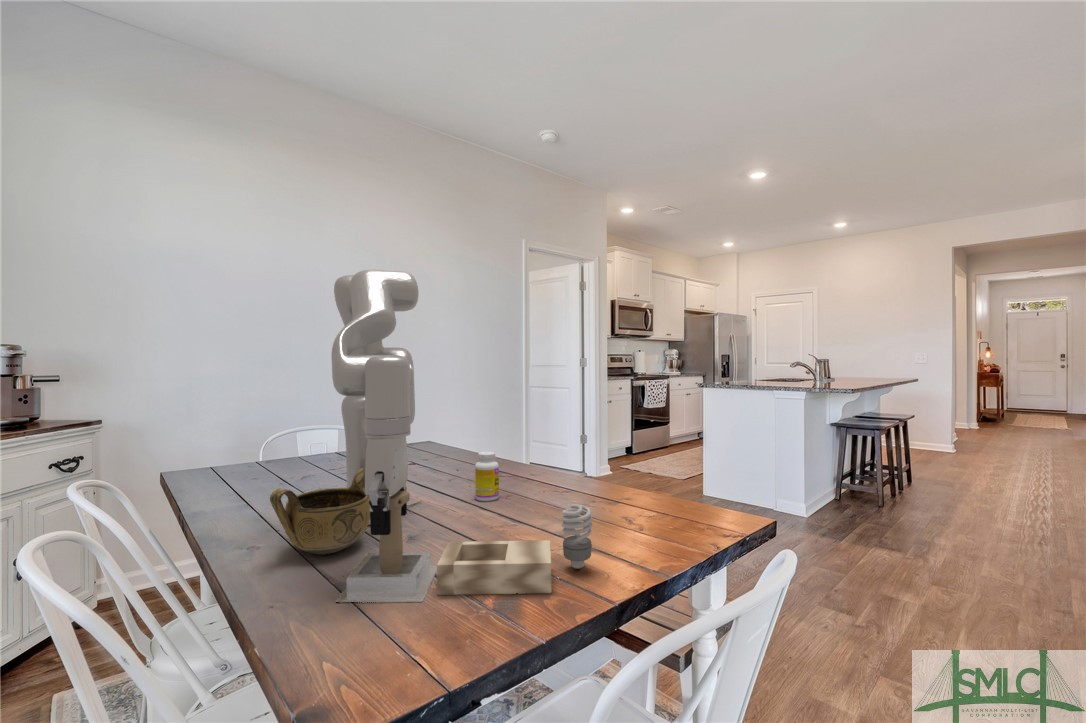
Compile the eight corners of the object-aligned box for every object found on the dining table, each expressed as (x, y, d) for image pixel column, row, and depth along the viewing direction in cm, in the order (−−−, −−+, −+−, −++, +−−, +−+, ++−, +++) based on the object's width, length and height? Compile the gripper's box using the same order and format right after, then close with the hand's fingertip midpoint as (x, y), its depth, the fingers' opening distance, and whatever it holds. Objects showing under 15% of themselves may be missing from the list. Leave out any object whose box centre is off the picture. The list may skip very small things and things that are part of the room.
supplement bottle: (497, 501, 137) (497, 455, 137) (473, 502, 137) (473, 455, 137) (500, 495, 144) (499, 450, 144) (477, 495, 144) (476, 451, 144)
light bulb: (560, 563, 95) (559, 500, 95) (589, 562, 95) (588, 499, 95) (564, 576, 89) (563, 509, 89) (595, 575, 90) (594, 508, 90)
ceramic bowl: (352, 526, 118) (350, 463, 118) (399, 540, 109) (398, 471, 109) (253, 558, 100) (252, 483, 100) (300, 578, 90) (298, 495, 90)
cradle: (335, 603, 81) (335, 581, 81) (364, 569, 94) (364, 550, 94) (422, 601, 81) (421, 580, 81) (438, 568, 94) (438, 549, 94)
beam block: (437, 594, 83) (436, 564, 83) (449, 568, 94) (448, 541, 94) (551, 593, 83) (550, 563, 83) (550, 566, 94) (550, 540, 94)
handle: (414, 577, 89) (414, 493, 89) (383, 591, 84) (384, 501, 84) (397, 571, 92) (397, 489, 92) (366, 583, 86) (367, 496, 87)
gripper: (382, 420, 96) (384, 509, 96) (347, 435, 79) (349, 543, 79) (421, 420, 96) (422, 508, 96) (395, 435, 79) (396, 542, 79)
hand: (389, 524), depth 88 cm, fingers open, 9 cm apart
